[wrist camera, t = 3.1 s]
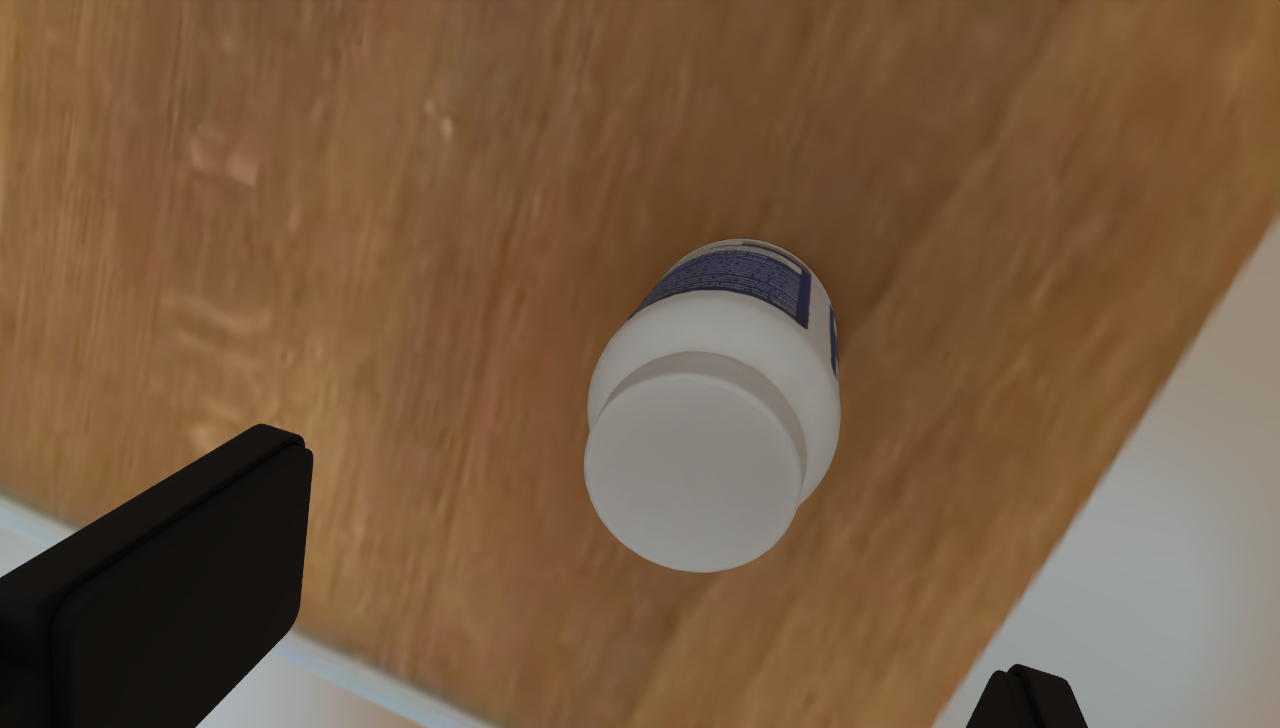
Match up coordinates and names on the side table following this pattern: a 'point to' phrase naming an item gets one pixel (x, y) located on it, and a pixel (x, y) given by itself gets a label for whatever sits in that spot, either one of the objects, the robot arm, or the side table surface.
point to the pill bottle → (715, 408)
